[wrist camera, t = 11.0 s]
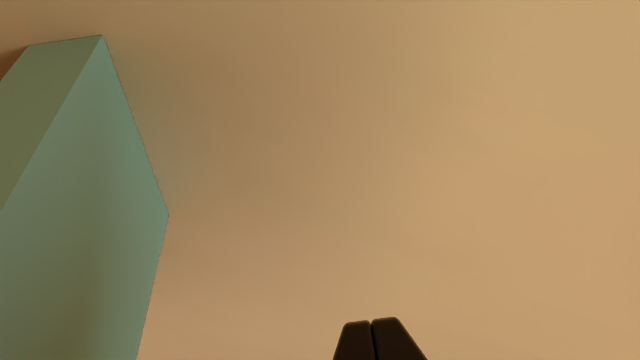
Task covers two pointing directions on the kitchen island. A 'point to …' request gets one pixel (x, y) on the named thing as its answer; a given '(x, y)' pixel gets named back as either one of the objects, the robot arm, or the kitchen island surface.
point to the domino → (73, 208)
